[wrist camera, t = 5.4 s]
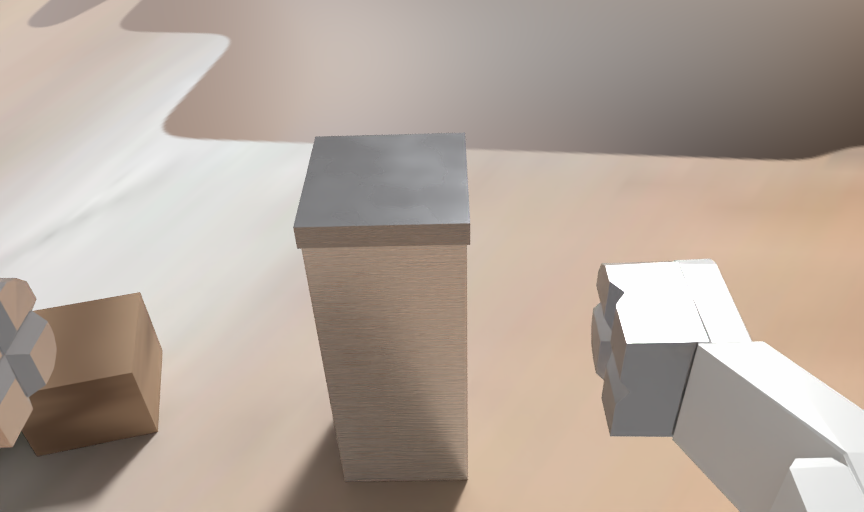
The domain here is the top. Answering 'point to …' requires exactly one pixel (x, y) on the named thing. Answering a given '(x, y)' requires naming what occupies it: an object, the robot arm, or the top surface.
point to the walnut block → (97, 376)
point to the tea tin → (391, 299)
